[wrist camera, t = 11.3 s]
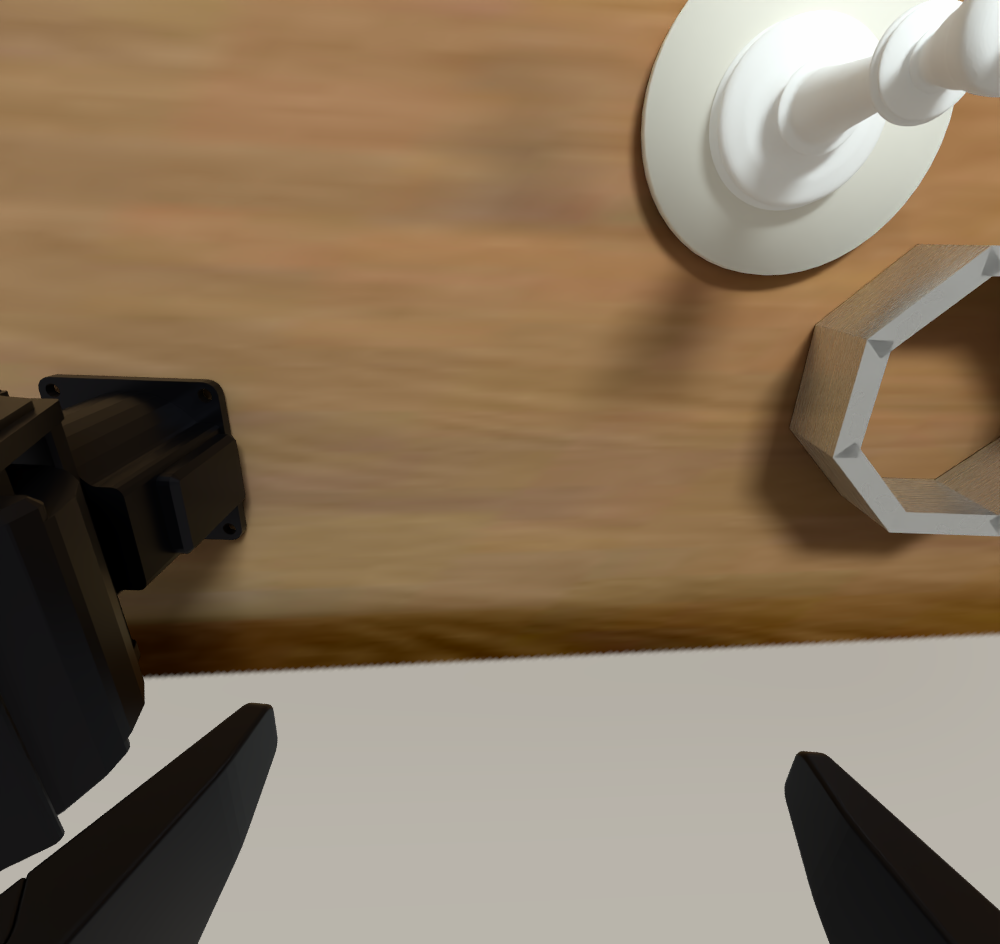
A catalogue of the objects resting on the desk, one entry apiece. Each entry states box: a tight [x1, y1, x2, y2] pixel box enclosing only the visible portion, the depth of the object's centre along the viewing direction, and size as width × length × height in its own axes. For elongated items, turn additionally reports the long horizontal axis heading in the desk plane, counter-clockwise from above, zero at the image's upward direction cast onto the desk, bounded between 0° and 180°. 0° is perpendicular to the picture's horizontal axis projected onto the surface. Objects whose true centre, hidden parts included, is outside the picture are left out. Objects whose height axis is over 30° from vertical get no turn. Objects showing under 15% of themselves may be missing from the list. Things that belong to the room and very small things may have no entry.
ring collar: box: [790, 244, 1000, 536], centre depth 19 cm, size 9×9×3 cm
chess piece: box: [709, 0, 1000, 211], centre depth 12 cm, size 5×5×10 cm
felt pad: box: [641, 0, 954, 275], centre depth 17 cm, size 9×9×1 cm
